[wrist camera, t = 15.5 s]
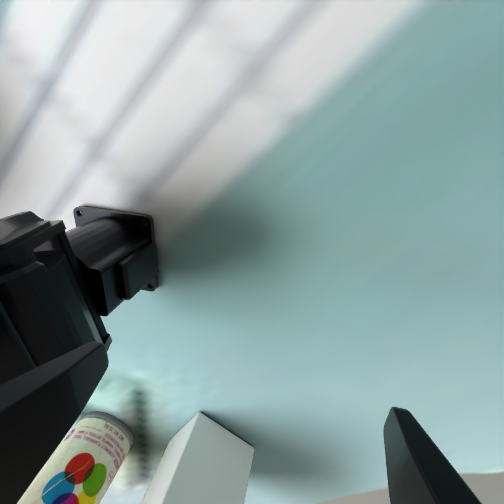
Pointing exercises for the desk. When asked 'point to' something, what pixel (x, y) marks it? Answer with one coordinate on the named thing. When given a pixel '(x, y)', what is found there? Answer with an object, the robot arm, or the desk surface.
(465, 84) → the desk surface
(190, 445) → the milk carton
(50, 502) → the aerosol can
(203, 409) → the desk surface
